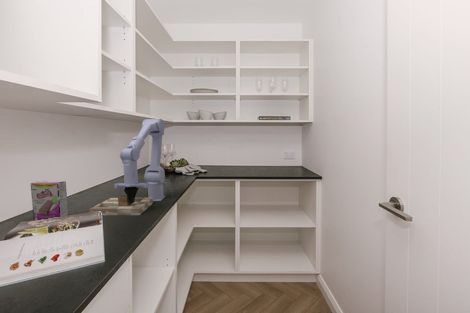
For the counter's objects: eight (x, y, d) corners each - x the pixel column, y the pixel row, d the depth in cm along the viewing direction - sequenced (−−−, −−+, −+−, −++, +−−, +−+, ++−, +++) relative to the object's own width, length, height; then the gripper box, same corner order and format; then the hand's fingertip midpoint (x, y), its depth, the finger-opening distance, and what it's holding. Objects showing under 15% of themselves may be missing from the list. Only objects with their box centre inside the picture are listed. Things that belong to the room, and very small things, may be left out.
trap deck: (110, 203, 121) (110, 197, 120) (153, 203, 121) (152, 197, 121) (89, 215, 103) (89, 209, 102) (140, 215, 103) (139, 208, 103)
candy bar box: (32, 222, 95) (29, 183, 93) (42, 218, 100) (39, 180, 98) (60, 222, 95) (57, 182, 94) (69, 217, 100) (66, 180, 99)
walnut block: (122, 203, 110) (122, 195, 110) (131, 203, 110) (130, 195, 110) (118, 206, 106) (118, 197, 106) (127, 206, 106) (126, 197, 106)
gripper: (110, 175, 103) (112, 205, 104) (143, 175, 103) (144, 205, 104) (118, 173, 110) (119, 201, 111) (148, 172, 110) (150, 200, 112)
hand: (132, 202), depth 108 cm, fingers closed
